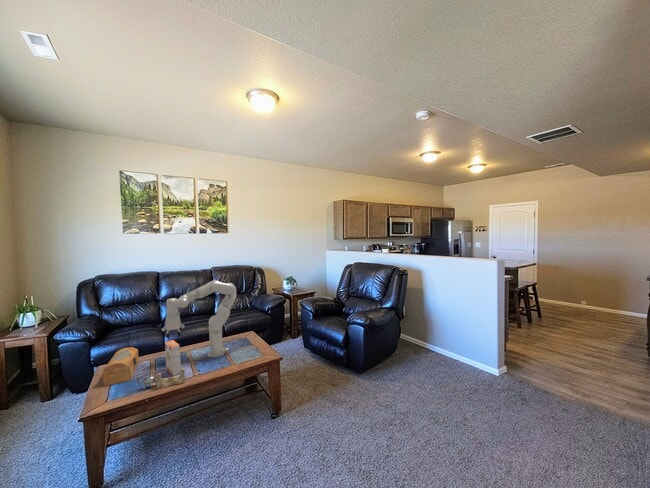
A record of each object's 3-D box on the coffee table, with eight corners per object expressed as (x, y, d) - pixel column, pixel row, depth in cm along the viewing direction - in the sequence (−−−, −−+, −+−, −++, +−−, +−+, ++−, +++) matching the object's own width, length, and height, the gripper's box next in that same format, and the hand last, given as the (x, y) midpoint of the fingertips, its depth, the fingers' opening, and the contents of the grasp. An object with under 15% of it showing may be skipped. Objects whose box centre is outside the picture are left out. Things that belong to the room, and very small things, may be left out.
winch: (158, 383, 183) (157, 371, 183) (157, 386, 179) (156, 374, 179) (138, 388, 178) (138, 375, 178) (137, 391, 174) (136, 378, 174)
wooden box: (132, 380, 188) (131, 360, 188) (102, 386, 182) (101, 365, 181) (141, 362, 216) (140, 344, 215) (115, 367, 209) (114, 349, 209)
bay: (185, 375, 192) (184, 363, 192) (184, 382, 184) (184, 369, 183) (159, 381, 186) (158, 368, 185) (157, 388, 177) (156, 375, 177)
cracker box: (165, 370, 202) (164, 341, 201) (174, 367, 206) (173, 339, 205) (172, 376, 192) (170, 346, 191) (181, 373, 196) (180, 344, 196)
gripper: (185, 311, 219) (186, 334, 220) (160, 315, 212) (161, 338, 212) (185, 314, 213) (186, 337, 213) (158, 317, 205) (160, 341, 206)
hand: (173, 337), depth 213 cm, fingers open, 6 cm apart
